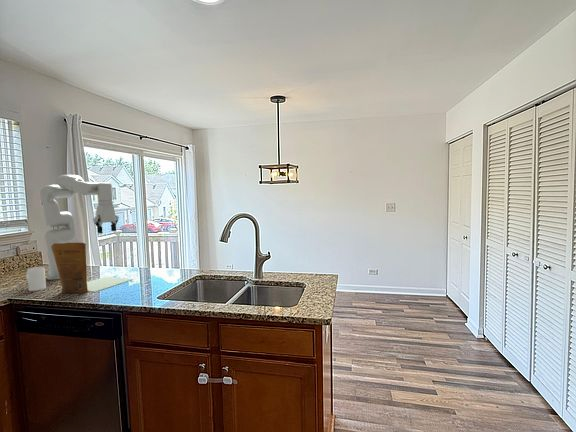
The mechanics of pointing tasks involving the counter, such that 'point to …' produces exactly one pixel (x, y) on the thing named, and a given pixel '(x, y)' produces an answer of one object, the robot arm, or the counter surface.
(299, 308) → the counter surface
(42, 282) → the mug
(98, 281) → the silicone mat
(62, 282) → the pancake mix bag
